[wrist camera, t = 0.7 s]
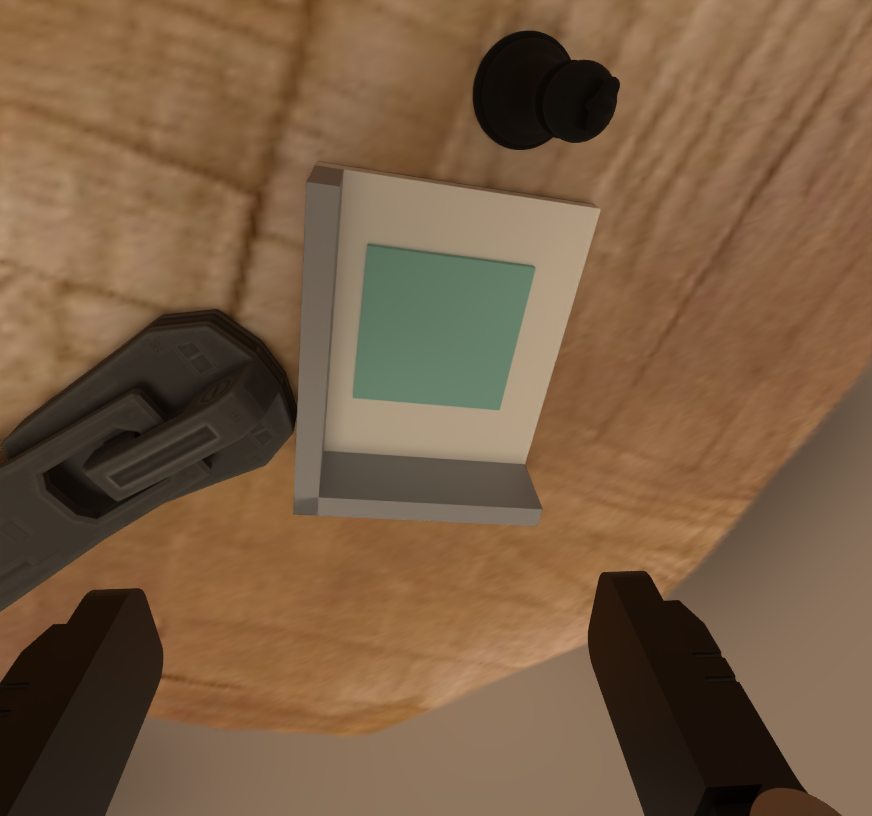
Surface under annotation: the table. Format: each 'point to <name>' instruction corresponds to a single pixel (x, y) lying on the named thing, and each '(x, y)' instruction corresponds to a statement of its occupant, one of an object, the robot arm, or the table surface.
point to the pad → (438, 327)
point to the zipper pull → (137, 440)
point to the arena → (411, 422)
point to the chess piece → (541, 93)
